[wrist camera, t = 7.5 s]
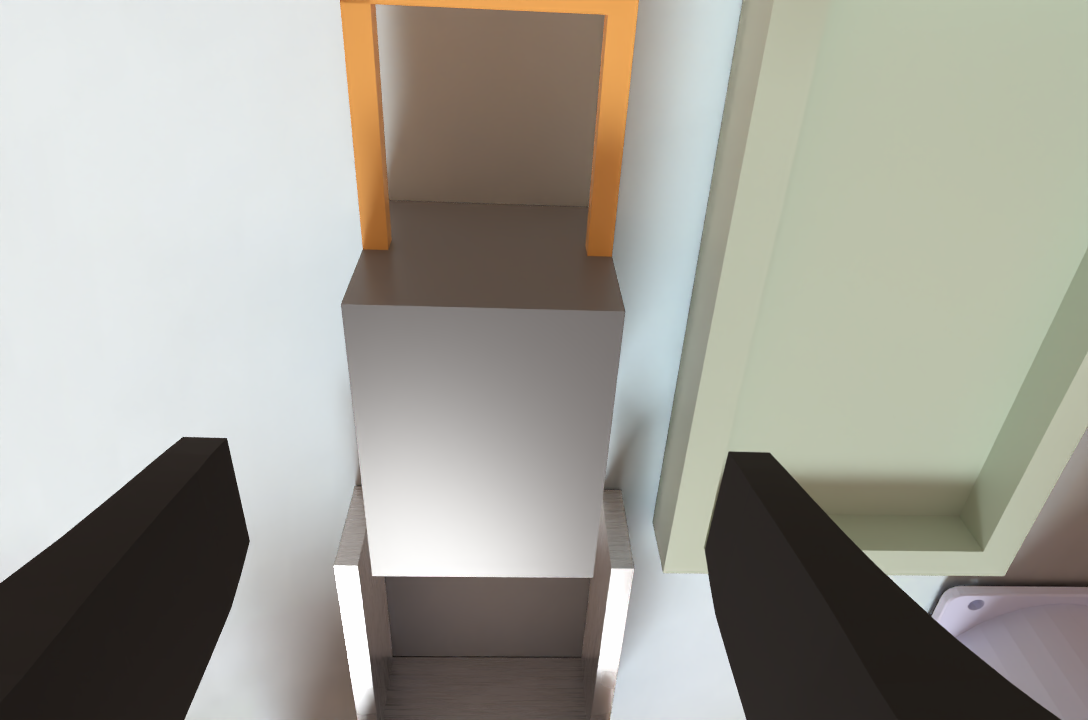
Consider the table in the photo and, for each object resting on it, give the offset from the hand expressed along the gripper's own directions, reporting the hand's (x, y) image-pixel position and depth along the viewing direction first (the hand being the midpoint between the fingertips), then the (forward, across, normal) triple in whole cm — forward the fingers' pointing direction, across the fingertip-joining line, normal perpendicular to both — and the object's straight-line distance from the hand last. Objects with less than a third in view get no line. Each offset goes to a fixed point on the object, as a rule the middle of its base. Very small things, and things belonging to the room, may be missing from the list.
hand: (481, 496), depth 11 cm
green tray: (+8, -10, 0) cm, 13 cm away
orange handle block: (+8, 0, 0) cm, 8 cm away
